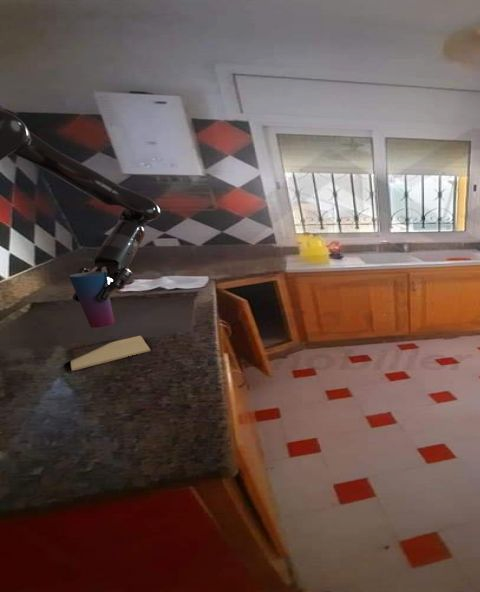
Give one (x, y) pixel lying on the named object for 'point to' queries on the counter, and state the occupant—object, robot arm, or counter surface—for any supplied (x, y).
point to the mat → (111, 352)
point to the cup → (92, 298)
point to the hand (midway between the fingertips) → (88, 300)
